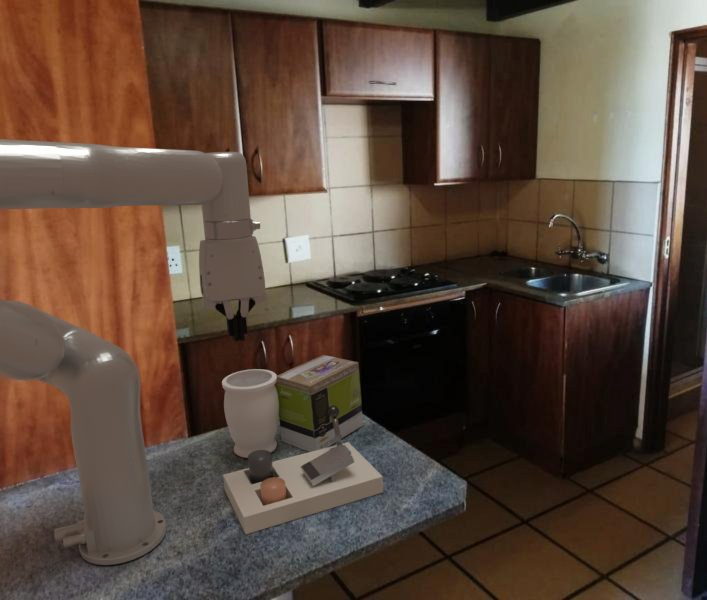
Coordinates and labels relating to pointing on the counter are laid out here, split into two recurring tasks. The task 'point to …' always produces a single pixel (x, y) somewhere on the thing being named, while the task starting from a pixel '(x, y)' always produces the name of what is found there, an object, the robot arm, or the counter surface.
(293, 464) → the panel
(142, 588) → the counter surface
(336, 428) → the toggle lever
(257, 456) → the black button
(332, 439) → the tea box
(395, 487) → the counter surface
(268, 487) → the terracotta button
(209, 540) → the counter surface
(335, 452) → the rocker
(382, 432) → the counter surface
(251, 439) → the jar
